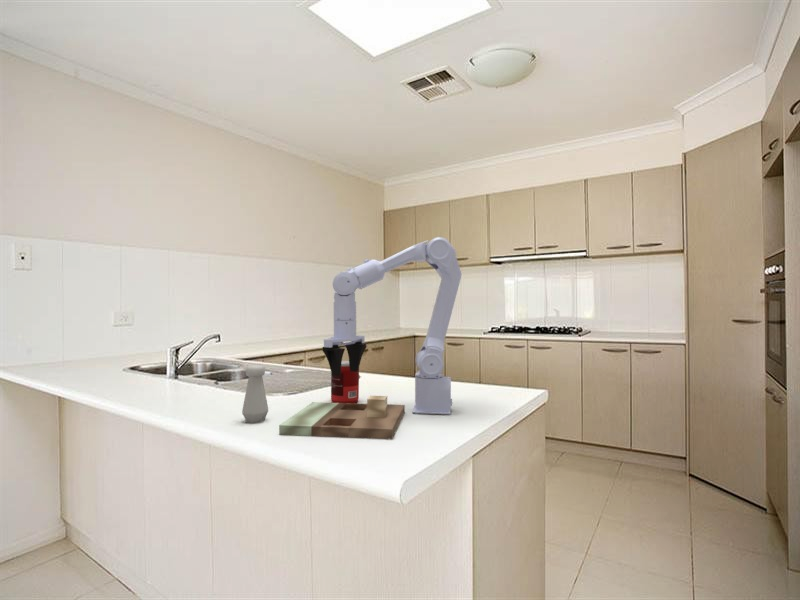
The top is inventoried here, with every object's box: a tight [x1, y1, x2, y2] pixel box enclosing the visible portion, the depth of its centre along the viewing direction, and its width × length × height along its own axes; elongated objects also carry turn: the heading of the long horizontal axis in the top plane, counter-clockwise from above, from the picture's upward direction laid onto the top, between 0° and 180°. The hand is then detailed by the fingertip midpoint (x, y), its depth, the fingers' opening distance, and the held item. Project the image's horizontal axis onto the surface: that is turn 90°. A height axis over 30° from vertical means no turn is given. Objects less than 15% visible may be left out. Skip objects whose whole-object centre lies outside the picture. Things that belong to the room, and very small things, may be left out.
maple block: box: [366, 395, 388, 418], centre depth 103 cm, size 4×4×4 cm
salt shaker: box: [241, 364, 269, 424], centre depth 105 cm, size 6×6×13 cm
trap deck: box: [278, 401, 406, 440], centre depth 103 cm, size 24×22×2 cm
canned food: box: [330, 360, 360, 403], centre depth 125 cm, size 8×8×11 cm
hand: (345, 373), depth 114 cm, fingers open, 7 cm apart
